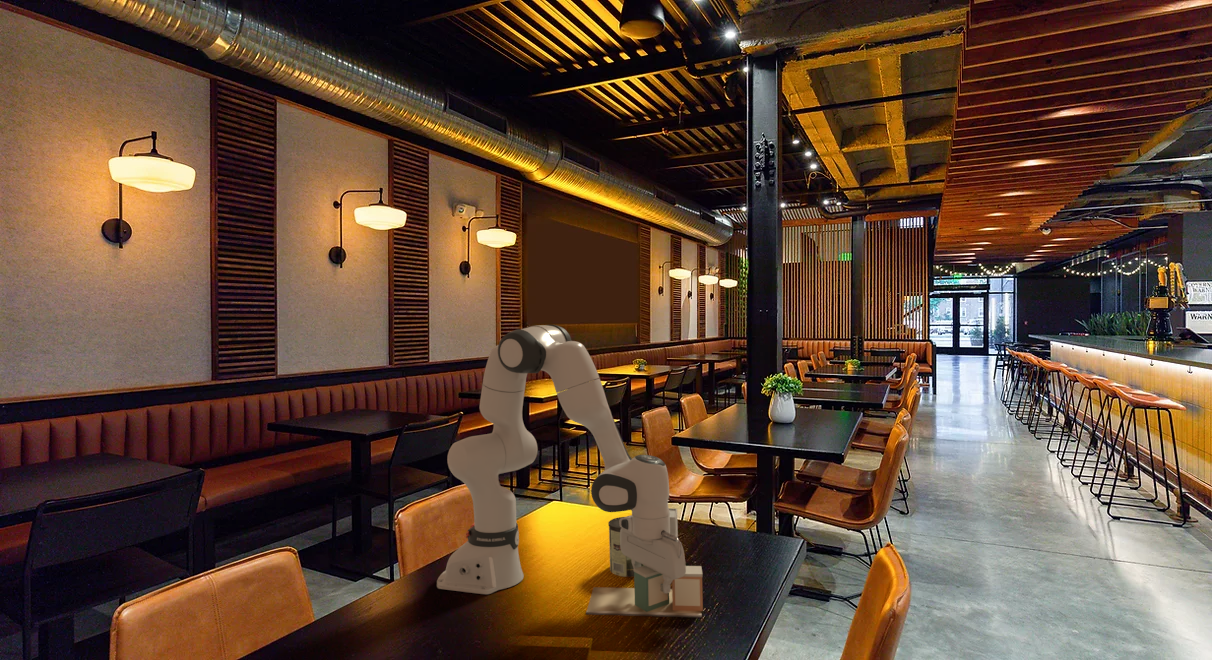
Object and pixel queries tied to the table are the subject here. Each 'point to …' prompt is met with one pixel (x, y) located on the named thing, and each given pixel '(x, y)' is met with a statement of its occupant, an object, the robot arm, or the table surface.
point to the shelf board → (629, 604)
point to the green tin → (649, 589)
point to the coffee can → (618, 552)
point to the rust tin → (688, 590)
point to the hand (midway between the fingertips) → (652, 585)
